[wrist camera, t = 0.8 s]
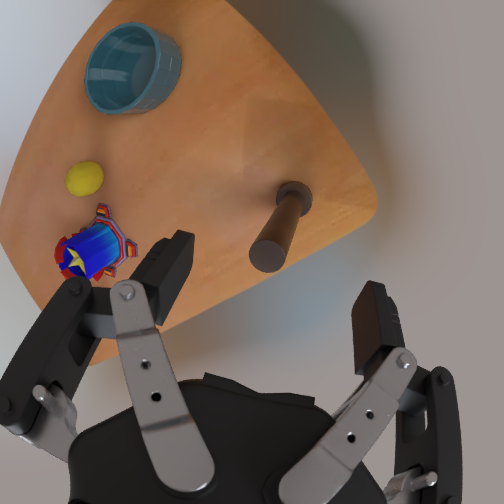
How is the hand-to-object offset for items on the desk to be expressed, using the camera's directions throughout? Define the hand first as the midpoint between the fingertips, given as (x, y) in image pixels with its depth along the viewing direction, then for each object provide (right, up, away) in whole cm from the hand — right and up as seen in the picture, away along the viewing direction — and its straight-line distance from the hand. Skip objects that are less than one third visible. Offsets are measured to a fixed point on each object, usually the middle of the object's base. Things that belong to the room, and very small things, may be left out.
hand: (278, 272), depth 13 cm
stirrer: (+4, +8, +23) cm, 25 cm away
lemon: (-26, +14, +29) cm, 41 cm away
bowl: (-17, +27, +20) cm, 38 cm away
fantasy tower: (-27, +3, +34) cm, 44 cm away
